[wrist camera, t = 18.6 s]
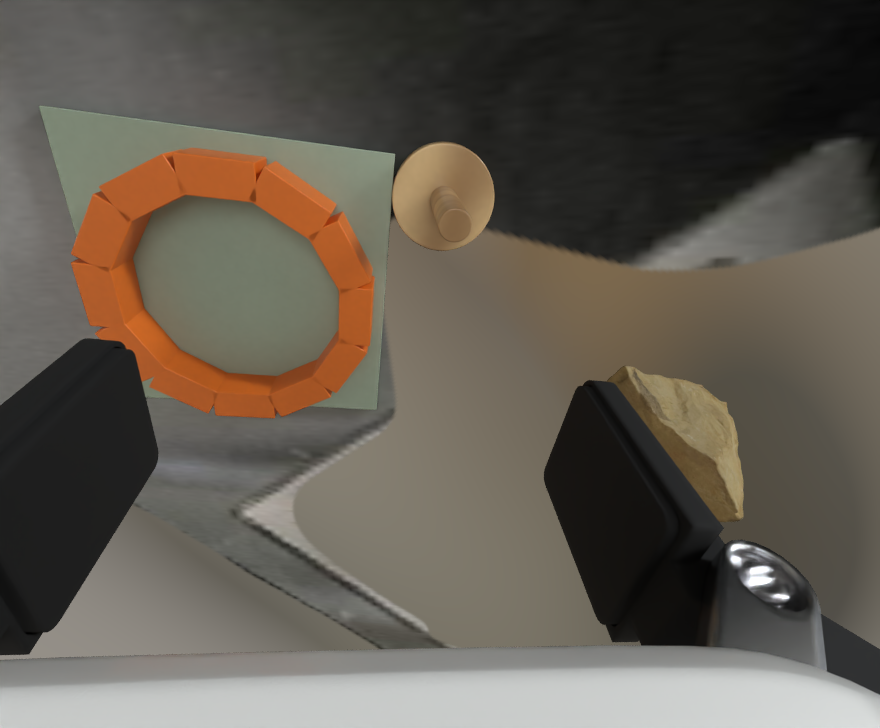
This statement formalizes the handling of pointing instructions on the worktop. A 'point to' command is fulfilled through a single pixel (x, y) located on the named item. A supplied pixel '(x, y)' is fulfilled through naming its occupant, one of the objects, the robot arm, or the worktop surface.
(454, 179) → the wooden peg disc
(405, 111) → the worktop surface
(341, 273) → the ring
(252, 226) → the mat
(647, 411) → the rock
